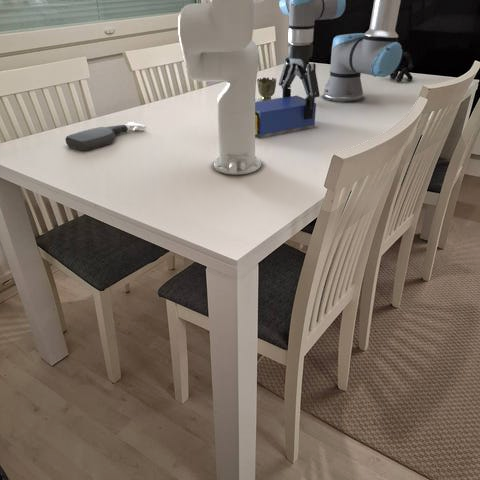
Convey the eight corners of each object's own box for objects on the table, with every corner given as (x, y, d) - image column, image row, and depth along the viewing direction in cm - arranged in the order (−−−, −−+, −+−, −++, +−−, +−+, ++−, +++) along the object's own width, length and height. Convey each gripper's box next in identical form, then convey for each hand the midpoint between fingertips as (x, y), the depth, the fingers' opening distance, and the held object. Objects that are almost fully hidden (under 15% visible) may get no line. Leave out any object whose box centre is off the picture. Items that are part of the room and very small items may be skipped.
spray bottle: (63, 145, 135) (128, 126, 151) (84, 153, 129) (149, 132, 145) (61, 135, 134) (127, 117, 150) (83, 143, 128) (148, 123, 144)
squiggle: (400, 92, 202) (376, 71, 205) (417, 76, 202) (392, 56, 205) (405, 81, 191) (380, 59, 194) (423, 64, 191) (397, 42, 194)
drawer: (238, 138, 136) (238, 118, 132) (224, 129, 143) (223, 110, 140) (305, 125, 145) (306, 107, 142) (288, 117, 152) (289, 99, 149)
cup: (253, 101, 174) (253, 80, 169) (261, 97, 179) (262, 76, 175) (271, 103, 171) (271, 82, 166) (279, 99, 176) (279, 78, 172)
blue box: (260, 137, 138) (260, 112, 134) (243, 127, 147) (243, 103, 143) (314, 127, 146) (316, 103, 142) (295, 118, 155) (296, 95, 150)
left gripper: (261, 23, 119) (261, 93, 129) (236, 18, 131) (237, 83, 141) (237, 25, 117) (238, 96, 126) (213, 20, 128) (216, 86, 138)
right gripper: (335, 48, 128) (328, 121, 139) (289, 37, 147) (286, 103, 158) (314, 50, 125) (308, 125, 136) (269, 39, 144) (268, 106, 155)
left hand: (238, 89), depth 133 cm, fingers closed
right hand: (296, 113), depth 147 cm, fingers open, 12 cm apart
